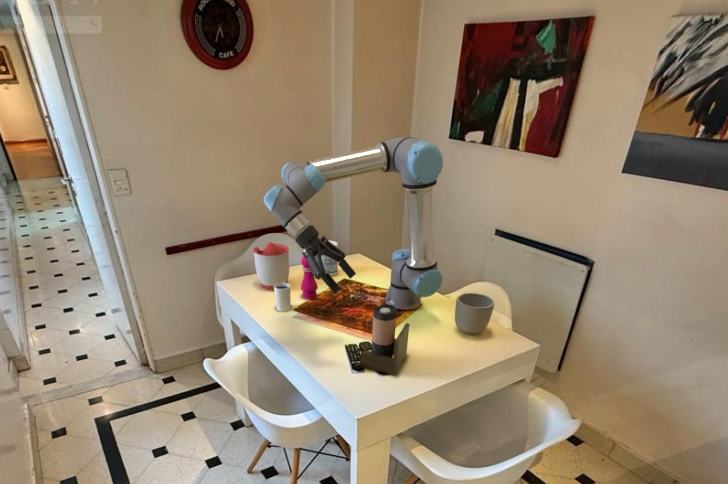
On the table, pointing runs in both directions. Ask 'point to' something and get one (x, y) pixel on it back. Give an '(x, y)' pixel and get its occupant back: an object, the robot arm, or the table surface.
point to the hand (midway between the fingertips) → (345, 283)
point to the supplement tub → (330, 263)
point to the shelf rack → (385, 362)
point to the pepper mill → (308, 281)
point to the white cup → (282, 296)
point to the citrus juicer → (272, 265)
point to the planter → (473, 312)
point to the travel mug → (384, 330)
